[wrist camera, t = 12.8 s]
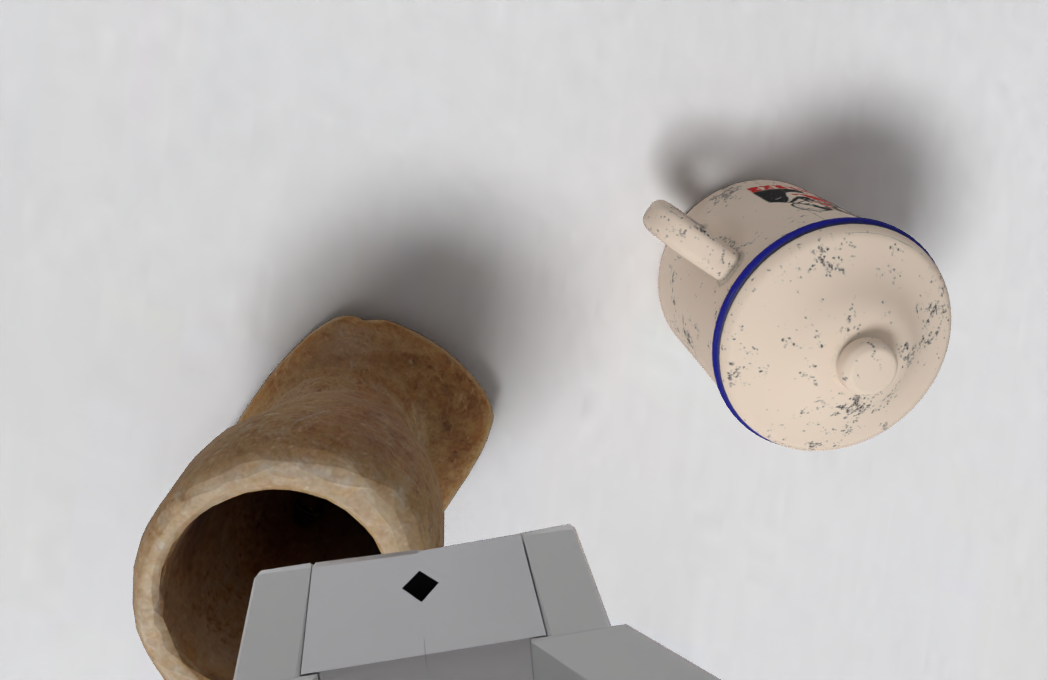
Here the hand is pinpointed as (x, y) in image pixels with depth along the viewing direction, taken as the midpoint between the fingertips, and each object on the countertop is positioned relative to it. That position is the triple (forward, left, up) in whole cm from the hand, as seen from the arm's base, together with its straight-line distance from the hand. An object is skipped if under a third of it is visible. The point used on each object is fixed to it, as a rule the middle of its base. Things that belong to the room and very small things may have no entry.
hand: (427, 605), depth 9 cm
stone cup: (+14, -5, -31) cm, 35 cm away
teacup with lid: (+7, +14, -31) cm, 35 cm away
